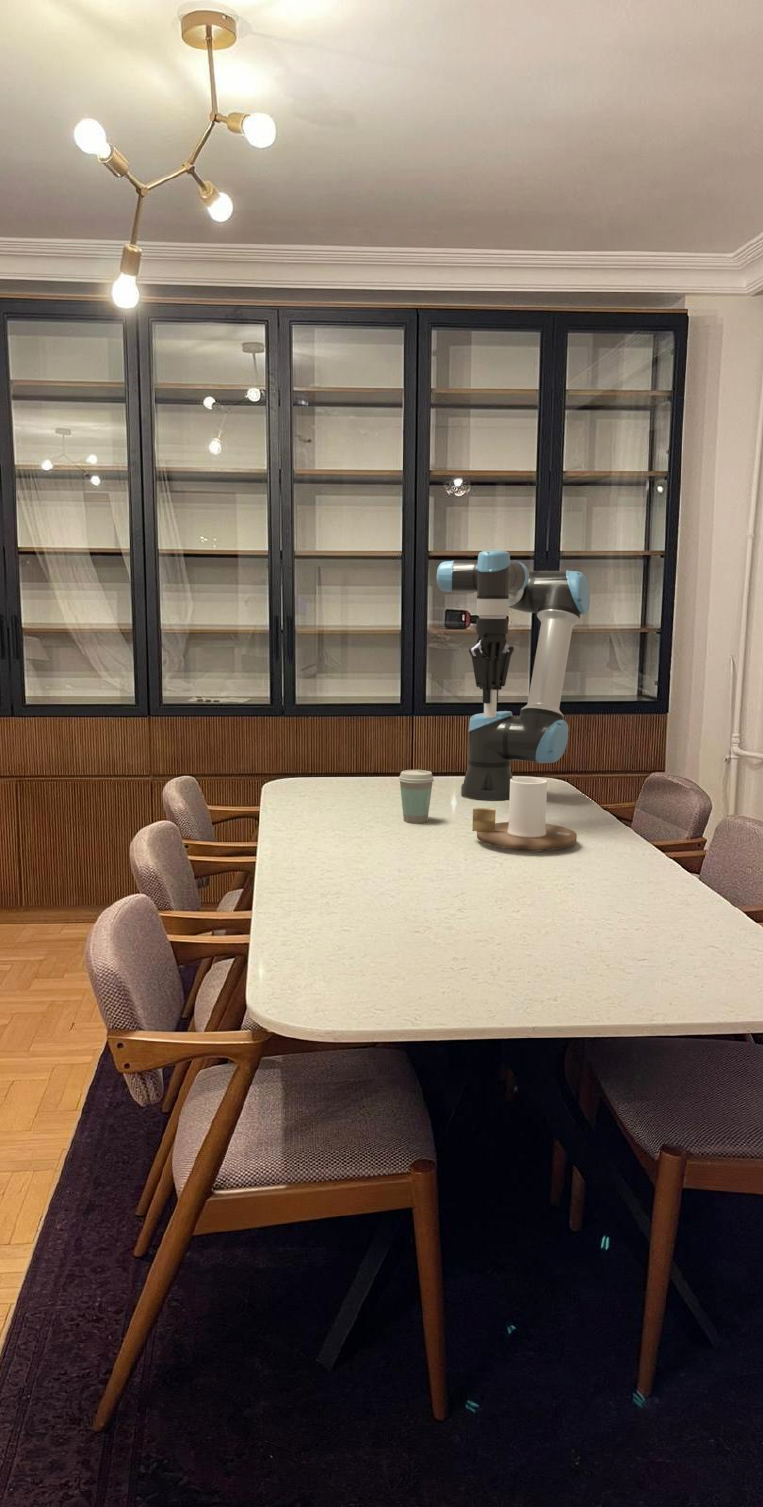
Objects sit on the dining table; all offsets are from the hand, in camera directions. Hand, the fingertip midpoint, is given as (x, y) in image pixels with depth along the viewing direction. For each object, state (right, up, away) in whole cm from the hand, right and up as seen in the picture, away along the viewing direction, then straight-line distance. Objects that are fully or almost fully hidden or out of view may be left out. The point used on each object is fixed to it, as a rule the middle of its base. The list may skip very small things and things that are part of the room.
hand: (489, 716), depth 249 cm
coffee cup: (-18, -25, +5) cm, 31 cm away
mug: (+7, -27, -17) cm, 33 cm away
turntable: (+6, -28, -17) cm, 33 cm away
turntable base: (+6, -29, -17) cm, 34 cm away
